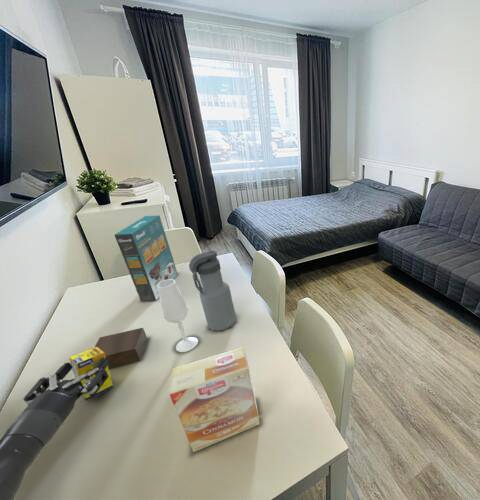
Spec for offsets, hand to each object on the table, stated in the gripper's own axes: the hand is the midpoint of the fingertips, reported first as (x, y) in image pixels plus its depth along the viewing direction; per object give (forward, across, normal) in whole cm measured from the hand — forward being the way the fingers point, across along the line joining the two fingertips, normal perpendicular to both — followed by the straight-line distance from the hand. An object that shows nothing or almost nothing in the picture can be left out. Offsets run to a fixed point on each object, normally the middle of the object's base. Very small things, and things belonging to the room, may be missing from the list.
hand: (87, 362), depth 71 cm
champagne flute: (+13, -19, +10) cm, 25 cm away
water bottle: (+21, -28, +10) cm, 37 cm away
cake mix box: (+53, +4, +10) cm, 54 cm away
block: (+12, 0, +10) cm, 16 cm away
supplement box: (-2, 0, +9) cm, 9 cm away
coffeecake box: (-18, -36, +10) cm, 42 cm away
